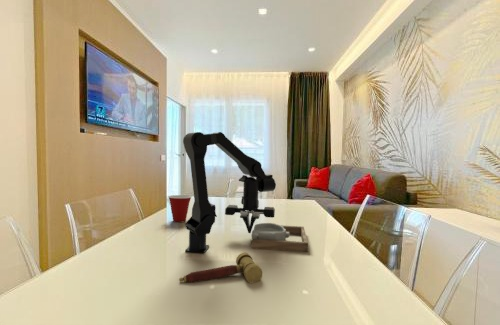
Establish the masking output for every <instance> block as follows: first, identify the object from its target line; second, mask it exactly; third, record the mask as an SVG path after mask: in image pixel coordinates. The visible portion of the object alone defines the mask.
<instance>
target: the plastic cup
mask: <svg viewBox="0 0 500 325" xmlns="http://www.w3.org/2000/svg"><path fill="white" fill-rule="evenodd" d="M167 198H168V200H169V204H170V210H171V217H172V220H173V222H174V221H175V222H176V223H183V222H182V221H184V222H186V221H185V220H187V216H188V212H189V211H188V210H189V207H190V202H191V198H192V195H181V194H178V195H176V194H175V195H174V194H172V195H168V197H167ZM175 222H174V223H175Z"/></svg>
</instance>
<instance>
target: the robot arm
mask: <svg viewBox="0 0 500 325" xmlns="http://www.w3.org/2000/svg"><path fill="white" fill-rule="evenodd" d="M182 140H183V141H182V143H183V147H184V150H185V153H186V155H187V157H188V158H189V162H190V163H189V164H190V169H191V170H190V172H191V180H192V191H193V198H194V201H193V205H192V208H191V216H190V218H189V219H188V220H187V221H185V224H184V225H185V228H186V230H187V231H188V246H187V247H186V249H185V250H184V251H185V253H197V254H204V253H206V251H207V250H208V249H209V247H210V245H209V244H207V235H208V234H210V232H211V231H212V228H213V225H214V224H215V223H216V218H217V216H218V215H217V214H216V205H215V204H213V203H211V202H210V201H209V194H208V193H209V192H208V191H209V190H208V181H207V174H206V172H207V171H206V166H205V164H206V163H205V157H206V154H207V151H208V146H213V145H215V146H216V147H217V148H219V149H220V150H221V151H222V152H223V153H225V154H226V155H227V156H228V157H229V158H230V159H232V161H234V162H235V163H236V165H237V167H238V169H239V170H240V171H241V172H242V174H243V175H242V176H241V177H240V178H239V179H238V181H239V182H240V183H241V182H242V183H243V191H242V192H243V194H242V196H241V202H240V203H241V205H242V207H239V206H238V205H237V204H229V205H227V206H226V207H225V211H224V215H226V216H234V215H235V214H236V213H237V214H239V213H240V216H239V218H241V219H242V220H243V222H244V224H245V227H246V231H247V233H248V234H252V231H253V228H254V224H255V222H256V220H258V219H260V217H261V215H263V216H264V217H265V218H272V219H273V218H275V215H276V214H275V211H276V209H275V207H274V206H264V208H259V206H260V204H259V203H260V202H259V192H260V193H266V192H273V191H275V190H276V186H277V183H276V181H275V179H274V176H273V174H266V172H265V171H264V169H263V167H262V163H261V162H260V161H259V160H257V159H255V158H253V157H251V156H249V155H247V154H245V153H244V152H243V151H242V150H241V149H240V148H238V146H237V145H236V144H235V143H233V142H232V141H231V140H230V139H229V138H227V136H226V135H225V134H224V133H223V132H222V131H221V132H220V131H218V132H217V131H216V132H212V133H203V132H201V131H200V132H199V131H197V132H188V133H186V134H185V136H184V137H183V139H182ZM250 214H251V217H250Z"/></svg>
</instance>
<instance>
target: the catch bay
mask: <svg viewBox="0 0 500 325" xmlns="http://www.w3.org/2000/svg"><path fill="white" fill-rule="evenodd" d="M280 225H281V226H283V227H284V229H286V232H289V233H290V235H300V237H301V241H296V240H295V241H294V240H285V241H281V240H266V239H252V238H251V248H252V249H257V250H259V249H260V250H274V251H288V252H300V253H301V252H302V253H308V249H309V243H308V238H307V234H306V230H305V227H304V226H297V225H296V226H295V225H284V224H283V225H282V224H280Z"/></svg>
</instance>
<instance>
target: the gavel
mask: <svg viewBox="0 0 500 325" xmlns="http://www.w3.org/2000/svg"><path fill="white" fill-rule="evenodd" d="M240 273H243V276H244V278H245V279H246V281H247V283H251V284H252V283H258V282H260V281H261V280H262V278H263V270H262V268H261V266H259V265H258V264H257V263H255V262H254V259H253V256H251V255H250V254H249V253H248V252H241V253H239V254H238V255H237V257H236V259H235V264H234V265H233V264H232V265H231V264H230V265H225V266H221V267H220V266H219V267H215V268H214V267H213V268H207V269H203V270H197V271H192V272H190V273H188V274H185V275H183V277H180V278H179V279H178V281H179V282H180V283H182V282H184V283H197V282H198V283H200V282H204V281H209V280H213V279H214V280H215V279H219V278H224V277H230V276H233V275H236V274H240Z"/></svg>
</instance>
